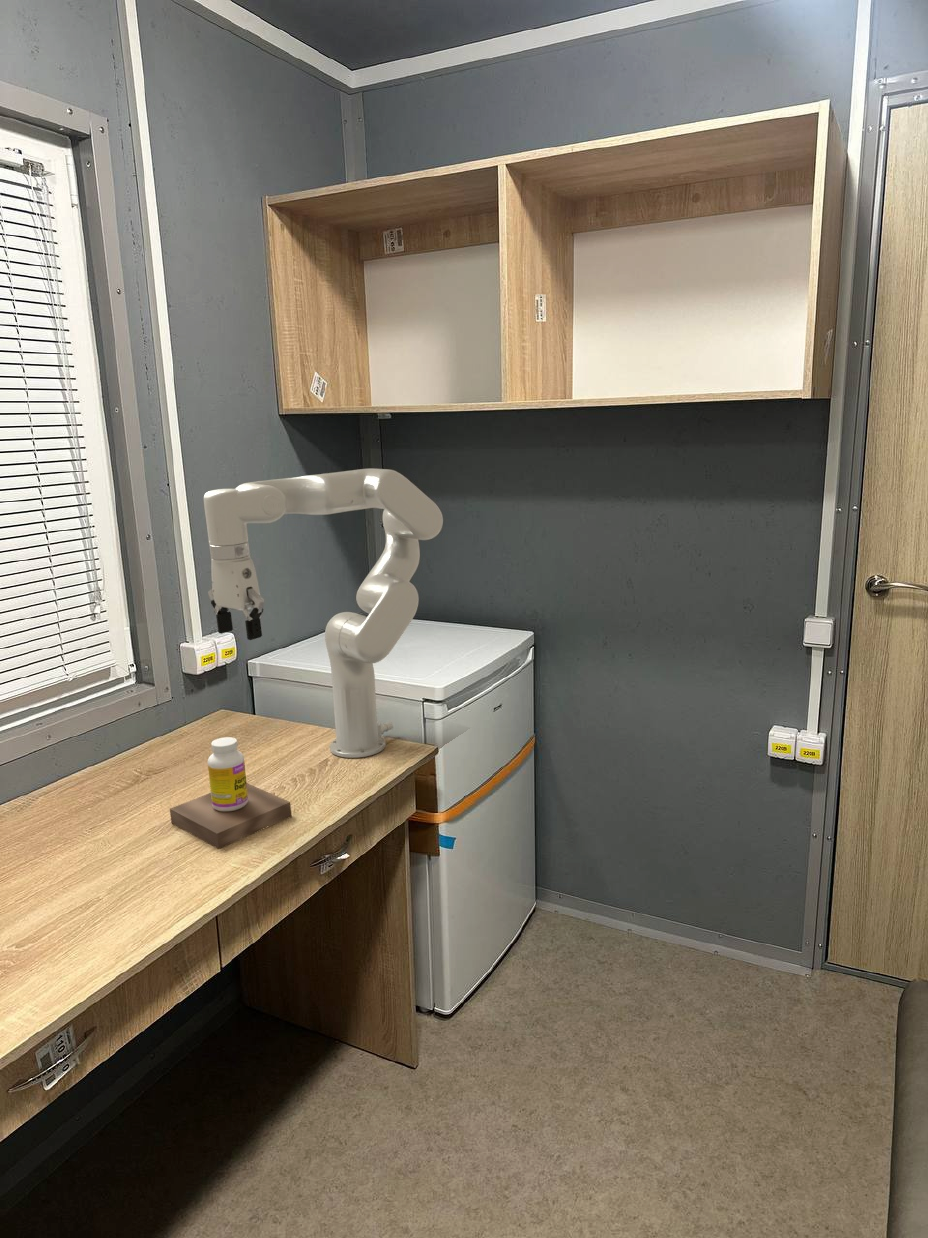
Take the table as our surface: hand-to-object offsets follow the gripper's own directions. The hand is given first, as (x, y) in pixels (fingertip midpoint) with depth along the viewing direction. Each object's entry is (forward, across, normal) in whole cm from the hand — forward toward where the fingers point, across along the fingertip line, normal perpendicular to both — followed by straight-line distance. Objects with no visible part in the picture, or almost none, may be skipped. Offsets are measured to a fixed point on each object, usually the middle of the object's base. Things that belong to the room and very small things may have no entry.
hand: (240, 635), depth 177 cm
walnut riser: (+31, -12, +15) cm, 37 cm away
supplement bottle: (+28, -12, +15) cm, 34 cm away
